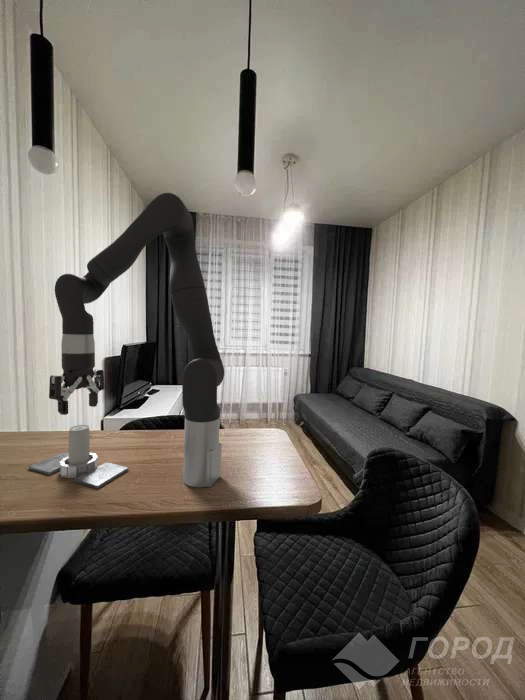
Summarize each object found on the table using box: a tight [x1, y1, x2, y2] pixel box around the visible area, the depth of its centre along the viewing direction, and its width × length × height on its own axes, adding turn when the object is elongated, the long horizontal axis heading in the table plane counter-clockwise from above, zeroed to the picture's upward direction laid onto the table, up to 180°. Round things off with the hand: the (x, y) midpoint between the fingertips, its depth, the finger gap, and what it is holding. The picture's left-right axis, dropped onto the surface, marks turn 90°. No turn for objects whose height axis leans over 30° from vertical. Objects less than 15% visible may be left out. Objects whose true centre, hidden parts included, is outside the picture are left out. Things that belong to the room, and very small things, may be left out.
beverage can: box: [68, 424, 91, 465], centre depth 77 cm, size 5×5×12 cm
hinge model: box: [28, 451, 129, 490], centre depth 78 cm, size 25×10×3 cm, turn 72°
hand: (79, 410), depth 76 cm, fingers open, 8 cm apart
